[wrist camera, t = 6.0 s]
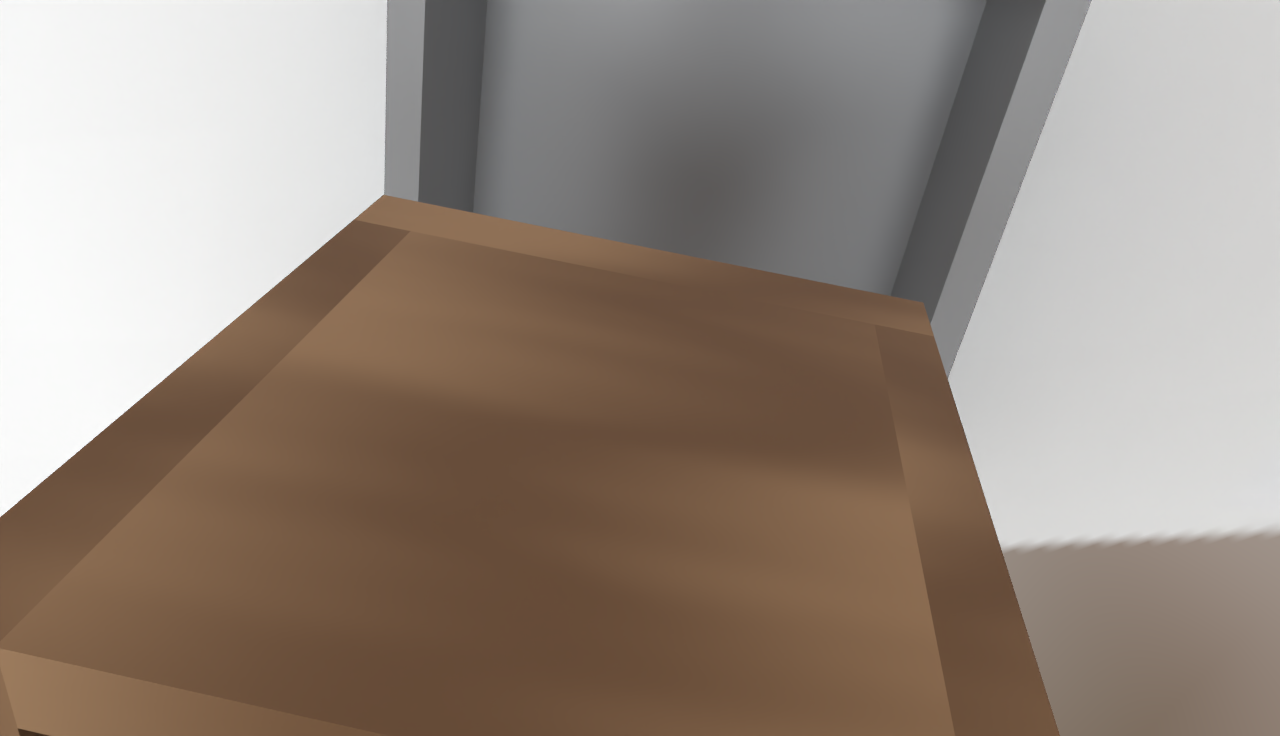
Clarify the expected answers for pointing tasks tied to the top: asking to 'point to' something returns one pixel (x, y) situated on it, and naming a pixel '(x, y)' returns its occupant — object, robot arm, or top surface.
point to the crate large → (738, 128)
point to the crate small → (524, 512)
